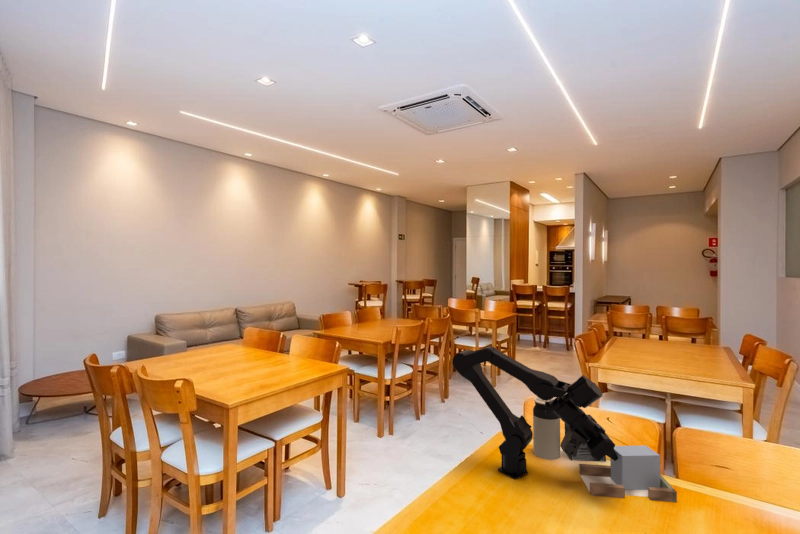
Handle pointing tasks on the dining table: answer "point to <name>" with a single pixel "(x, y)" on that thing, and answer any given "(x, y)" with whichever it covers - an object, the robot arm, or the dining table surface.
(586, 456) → the small box
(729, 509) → the dining table surface
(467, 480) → the dining table surface
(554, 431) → the travel mug
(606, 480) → the brown piece
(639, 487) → the block
